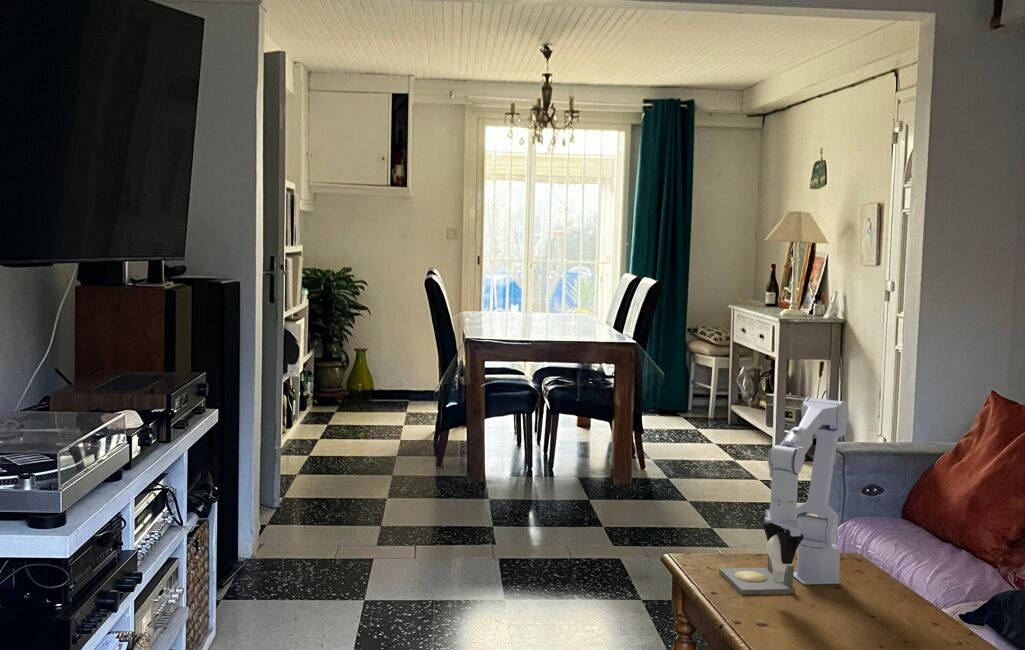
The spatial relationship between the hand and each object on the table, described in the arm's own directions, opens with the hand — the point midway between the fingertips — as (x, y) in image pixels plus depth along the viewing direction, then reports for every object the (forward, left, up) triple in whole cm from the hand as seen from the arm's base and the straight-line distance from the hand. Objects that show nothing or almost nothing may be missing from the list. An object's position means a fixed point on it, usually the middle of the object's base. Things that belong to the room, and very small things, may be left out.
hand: (780, 558), depth 220 cm
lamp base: (0, -13, -10) cm, 17 cm away
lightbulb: (+1, 0, -6) cm, 6 cm away
